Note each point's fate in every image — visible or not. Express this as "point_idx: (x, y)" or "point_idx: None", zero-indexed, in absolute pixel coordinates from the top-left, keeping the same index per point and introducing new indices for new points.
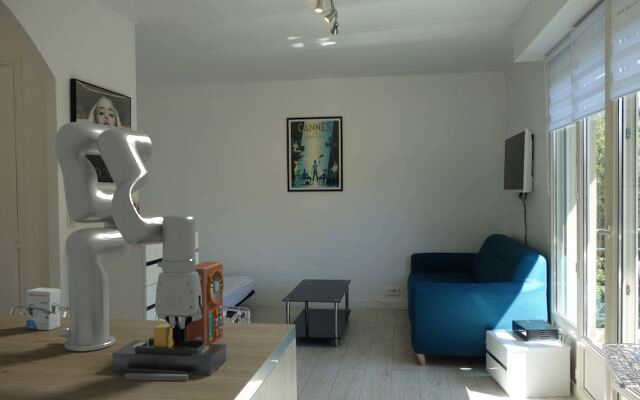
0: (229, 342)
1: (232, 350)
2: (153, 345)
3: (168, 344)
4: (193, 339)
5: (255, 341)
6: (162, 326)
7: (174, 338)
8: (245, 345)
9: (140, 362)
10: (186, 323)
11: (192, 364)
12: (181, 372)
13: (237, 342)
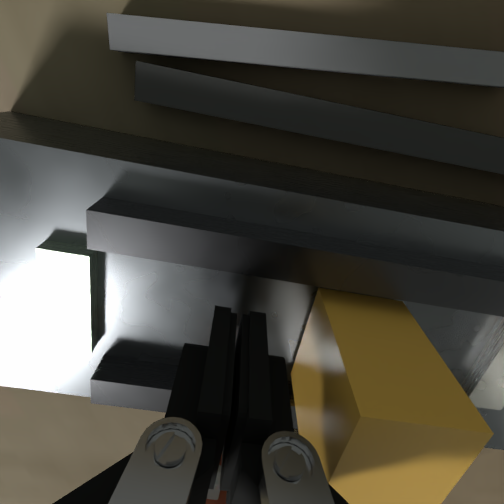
0: None
1: (65, 427)
2: None
3: (312, 337)
4: None
5: (18, 500)
6: (405, 482)
7: (260, 343)
8: (37, 469)
9: (456, 207)
10: (114, 486)
11: (103, 143)
12: (162, 74)
13: None
